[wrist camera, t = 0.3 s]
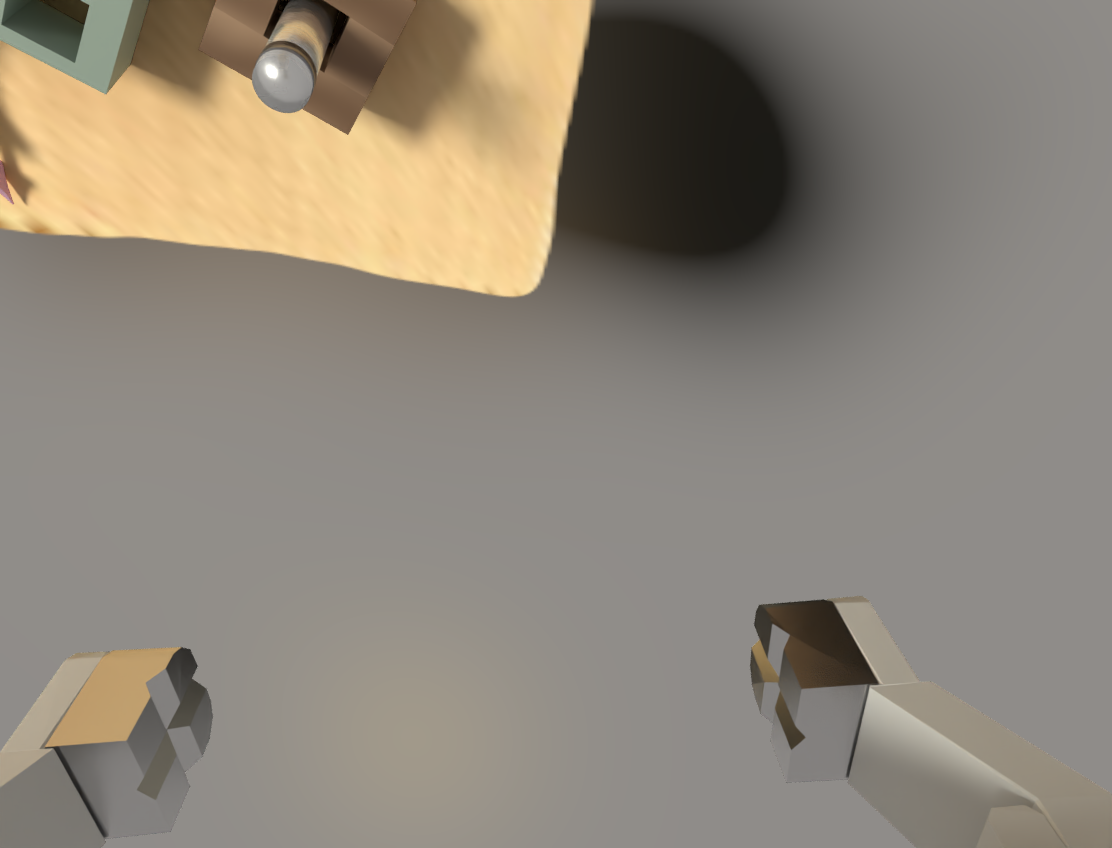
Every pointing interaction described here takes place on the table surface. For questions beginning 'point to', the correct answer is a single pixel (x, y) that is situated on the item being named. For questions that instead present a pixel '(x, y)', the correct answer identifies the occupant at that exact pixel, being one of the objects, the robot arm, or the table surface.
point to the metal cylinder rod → (294, 55)
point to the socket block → (348, 65)
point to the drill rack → (76, 37)
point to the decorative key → (4, 185)
